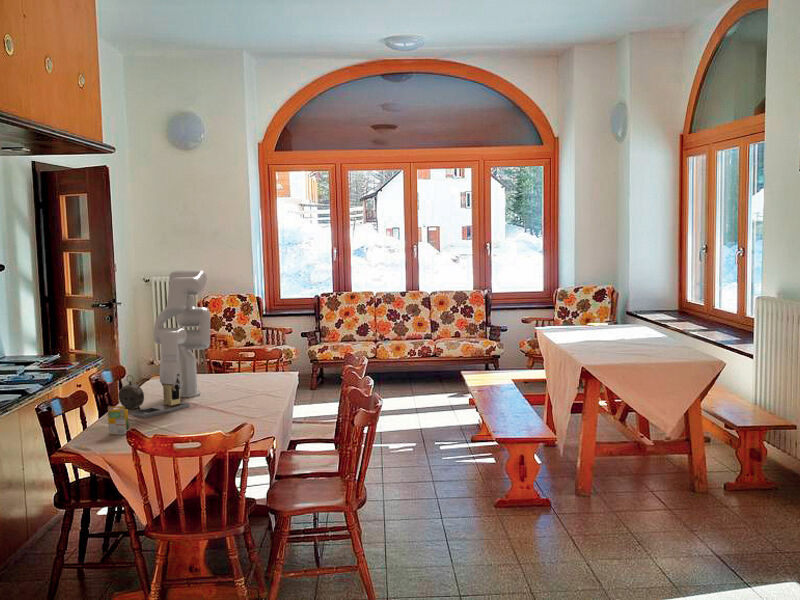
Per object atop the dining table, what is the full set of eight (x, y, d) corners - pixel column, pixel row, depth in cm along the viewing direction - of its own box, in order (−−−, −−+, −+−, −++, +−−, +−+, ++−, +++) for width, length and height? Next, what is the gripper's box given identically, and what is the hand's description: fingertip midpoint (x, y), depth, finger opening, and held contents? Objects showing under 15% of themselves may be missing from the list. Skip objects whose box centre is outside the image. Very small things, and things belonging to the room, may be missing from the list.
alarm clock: (145, 410, 383) (143, 374, 381) (138, 413, 378) (136, 377, 376) (124, 408, 386) (123, 373, 384) (117, 411, 381) (115, 375, 379)
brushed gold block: (164, 404, 380) (163, 384, 379) (173, 402, 384) (172, 382, 383) (171, 405, 377) (170, 385, 376) (180, 403, 381) (179, 383, 380)
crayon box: (129, 432, 345) (127, 404, 344) (126, 434, 342) (125, 406, 341) (111, 432, 346) (110, 404, 345) (108, 434, 343) (107, 406, 342)
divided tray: (132, 417, 370) (132, 411, 369) (176, 406, 389) (176, 400, 389) (145, 420, 364) (145, 414, 364) (189, 408, 383) (189, 403, 383)
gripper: (150, 357, 381) (152, 397, 383) (175, 361, 371) (177, 402, 373) (164, 355, 387) (166, 394, 389) (189, 358, 377) (191, 399, 379)
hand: (171, 398), depth 381 cm, fingers closed on brushed gold block, 5 cm apart
